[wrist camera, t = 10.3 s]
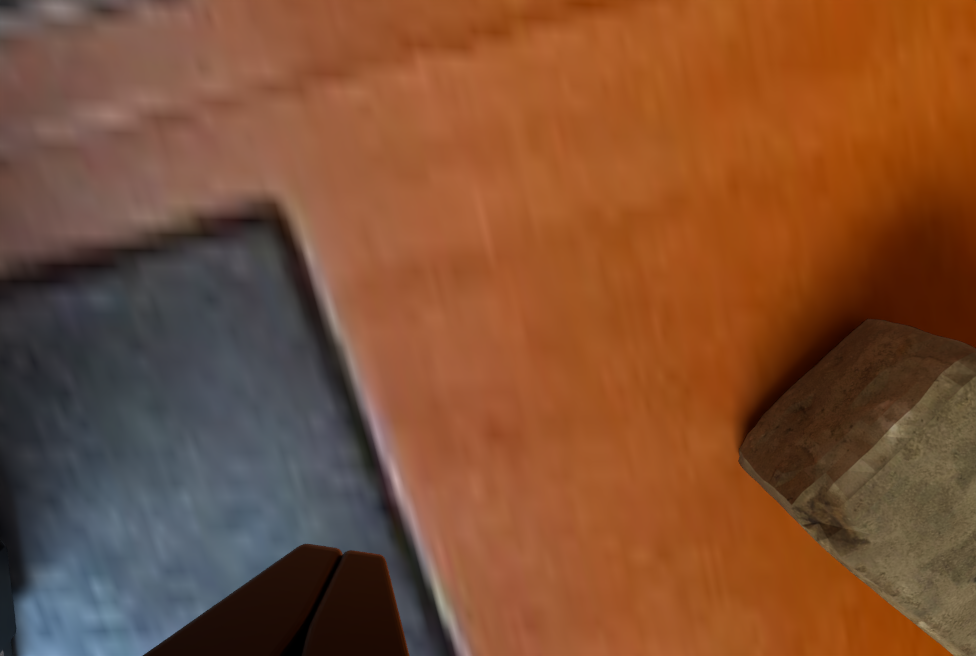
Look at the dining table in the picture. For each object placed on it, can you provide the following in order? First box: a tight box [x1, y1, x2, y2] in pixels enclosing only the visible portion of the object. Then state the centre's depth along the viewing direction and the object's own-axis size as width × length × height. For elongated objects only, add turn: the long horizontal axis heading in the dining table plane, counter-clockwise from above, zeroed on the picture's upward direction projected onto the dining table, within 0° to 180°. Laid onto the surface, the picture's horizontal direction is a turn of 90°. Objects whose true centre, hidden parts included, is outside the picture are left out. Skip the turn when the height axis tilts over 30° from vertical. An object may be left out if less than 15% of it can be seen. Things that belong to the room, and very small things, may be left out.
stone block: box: [738, 319, 976, 656], centre depth 20 cm, size 6×12×5 cm, turn 50°
